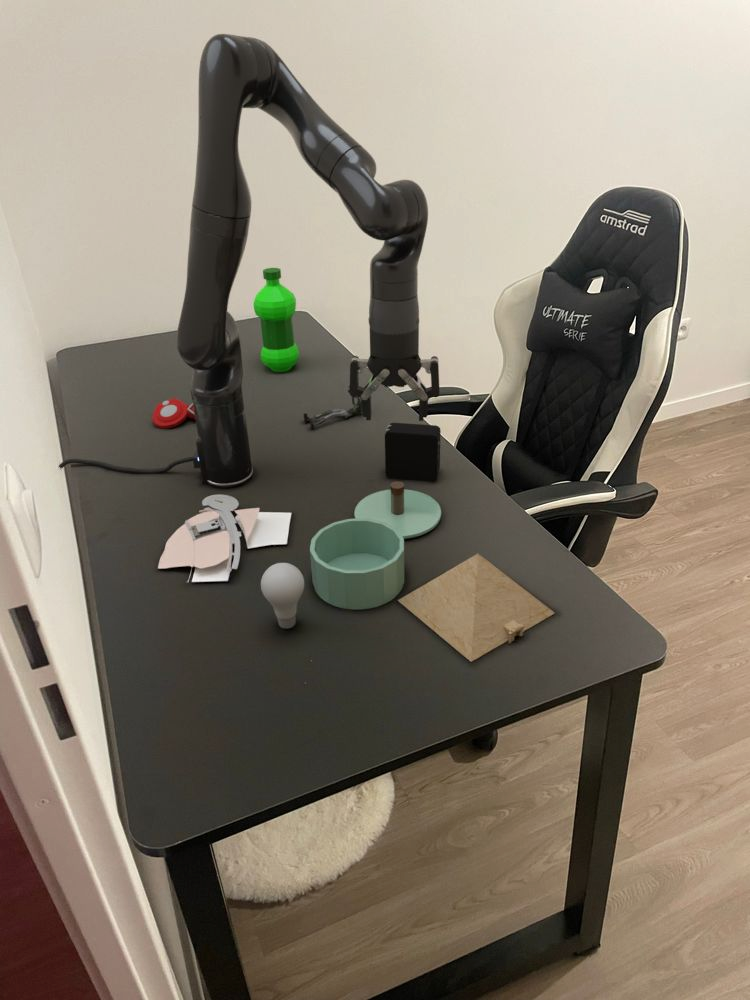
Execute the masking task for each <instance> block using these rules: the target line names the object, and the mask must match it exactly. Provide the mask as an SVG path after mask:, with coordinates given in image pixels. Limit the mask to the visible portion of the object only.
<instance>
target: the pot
mask: <svg viewBox="0 0 750 1000" xmlns="http://www.w3.org/2000/svg"><path fill="white" fill-rule="evenodd" d="M309 557H310V568H311V569H310V570H311V580H312V584H313V588H314V591H315V593H316V595H317V596H318V597H319V598H320V599H321V600H323V601H324V602H326V604H329V605H331V606H333V607H337V608H340V609H344V610H352V611H353V610H357V611H358V610H360V611H361V610H368V609H373V608H377V607H381V606H382V605H385V604H388V603H389V602H391V601H392V600H393V599H395V598H396V597H397V596H398V595H399V594H400V593H401V591H402V589H403V588H404V584H405V539H404V538H403V537H402V535H401V534H400V533H399V531H398V530H397V529H396V528H394V527H392V526H390V525H389V524H387V523H385V522H382V521H377V520H373V519H369V518H366V519H355V518H347V519H342V520H339V521H334V522H332V523H330V524H328V525H326V526H324V527H322V528H321V529H319V530H318V531H317V532H316V533H315V535H314V536H313V537H312V538H311V540H310V545H309Z"/></svg>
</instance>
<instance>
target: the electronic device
mask: <svg viewBox="0 0 750 1000" xmlns="http://www.w3.org/2000/svg"><path fill="white" fill-rule="evenodd" d="M386 427H387V428H386V429H385V433H384V465H385V469H384V470H385V476H386V477H387V478H388V479H396V480H408V481H418V482H419V481H420V482H430V483H431V482H432V483H433V482H436V481H437V479H438V476H439V473H440V469H441V427H439V426H438V425H436V424H435V425H434V424H419V423H418V424H417V423H407V422H406V423H405V422H390V423H389V424H388V425H387V426H386Z"/></svg>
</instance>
